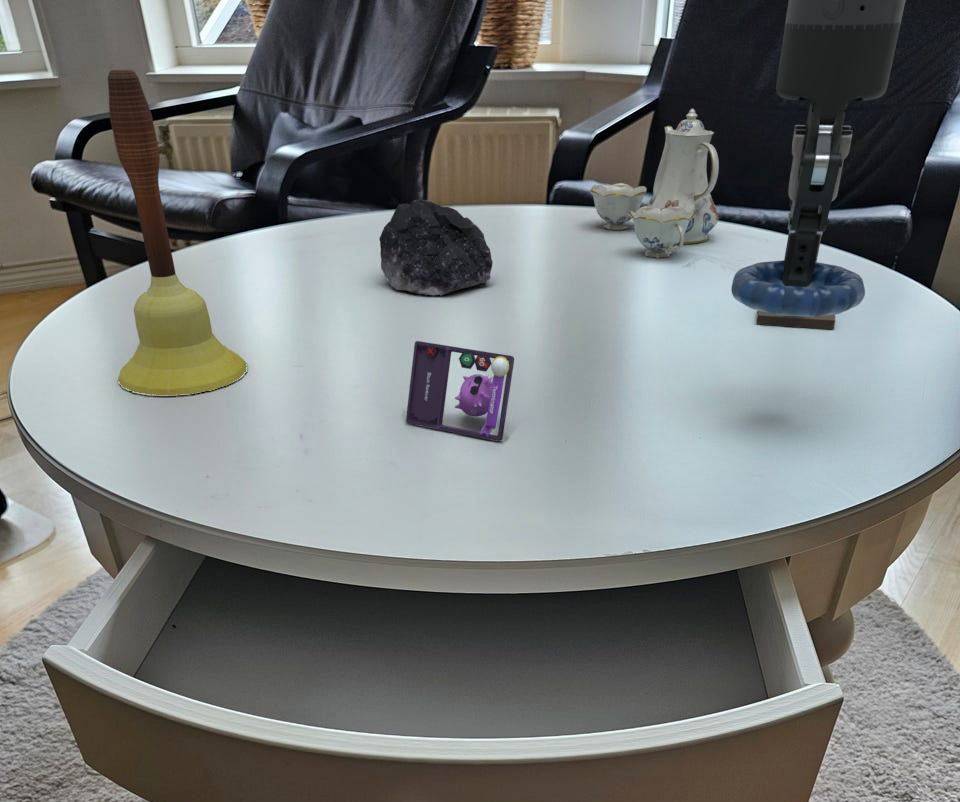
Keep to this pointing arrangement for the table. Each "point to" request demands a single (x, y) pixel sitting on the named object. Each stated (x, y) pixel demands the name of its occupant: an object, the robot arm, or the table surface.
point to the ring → (798, 290)
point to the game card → (474, 391)
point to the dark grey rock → (433, 250)
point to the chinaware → (668, 194)
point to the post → (797, 318)
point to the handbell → (162, 271)
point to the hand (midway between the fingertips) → (795, 279)
